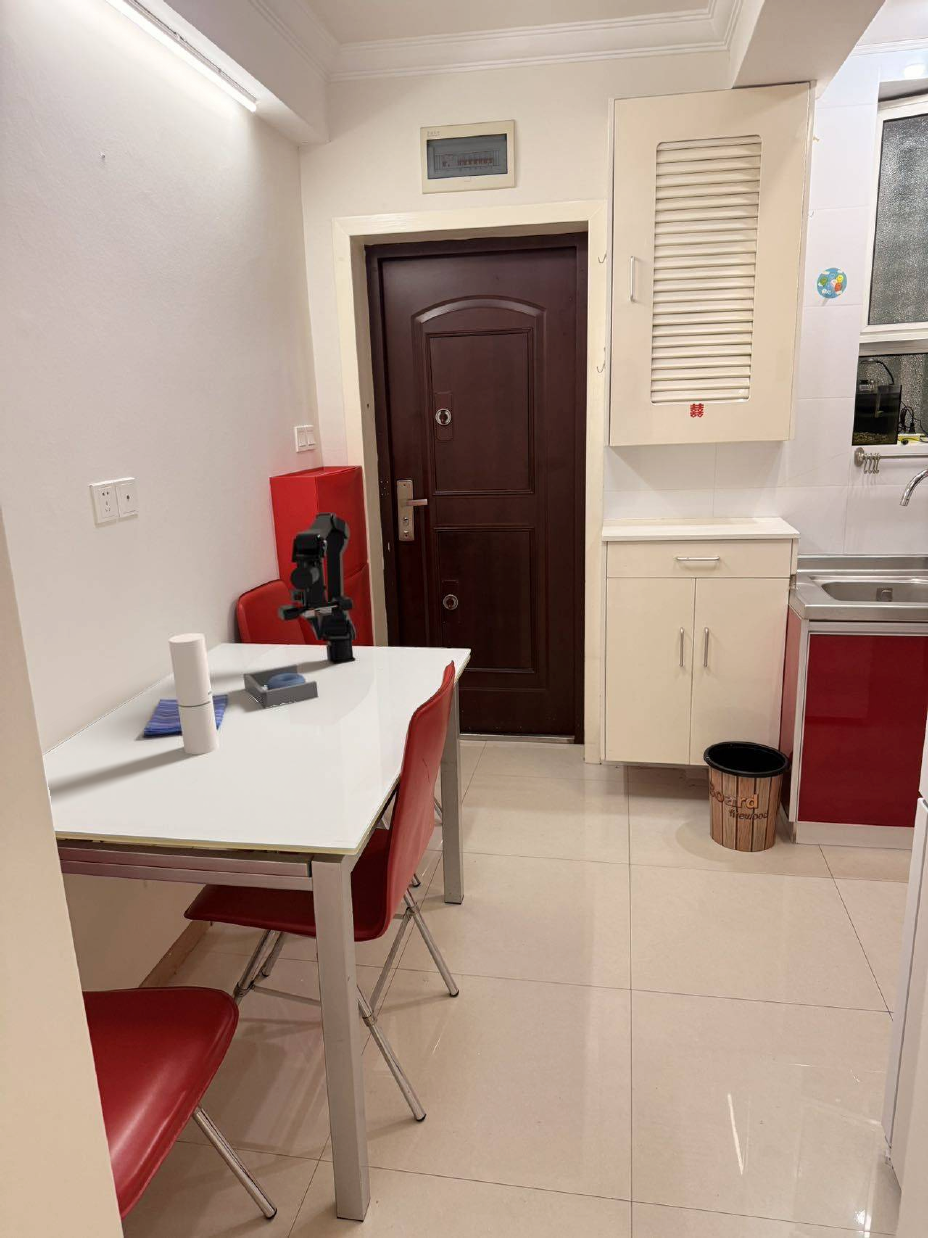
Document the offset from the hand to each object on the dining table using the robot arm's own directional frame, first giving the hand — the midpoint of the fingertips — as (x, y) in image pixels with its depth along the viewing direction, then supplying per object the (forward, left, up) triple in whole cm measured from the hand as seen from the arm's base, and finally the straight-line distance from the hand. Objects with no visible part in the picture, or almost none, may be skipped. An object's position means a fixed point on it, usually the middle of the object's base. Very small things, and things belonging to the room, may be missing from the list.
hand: (319, 639), depth 221 cm
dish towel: (+36, +5, -13) cm, 38 cm away
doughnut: (+10, 0, -12) cm, 16 cm away
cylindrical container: (+37, +27, -12) cm, 47 cm away
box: (+12, +1, -12) cm, 17 cm away
